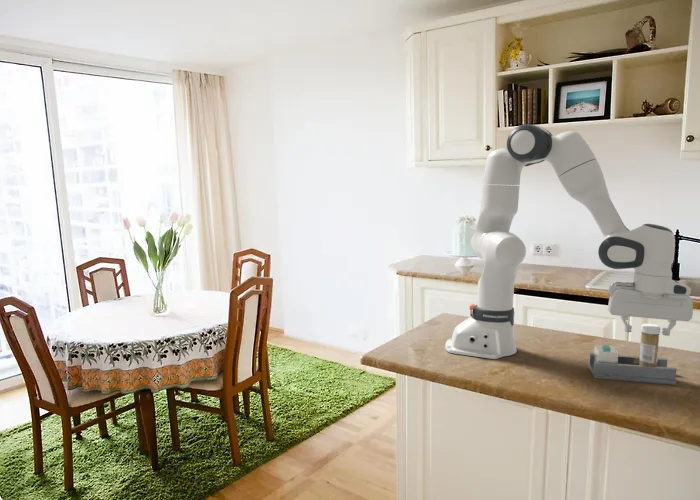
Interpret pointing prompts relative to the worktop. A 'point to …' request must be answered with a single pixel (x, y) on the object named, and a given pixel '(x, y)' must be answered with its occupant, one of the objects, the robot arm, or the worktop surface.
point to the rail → (628, 367)
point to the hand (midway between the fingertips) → (646, 333)
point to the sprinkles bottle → (649, 345)
